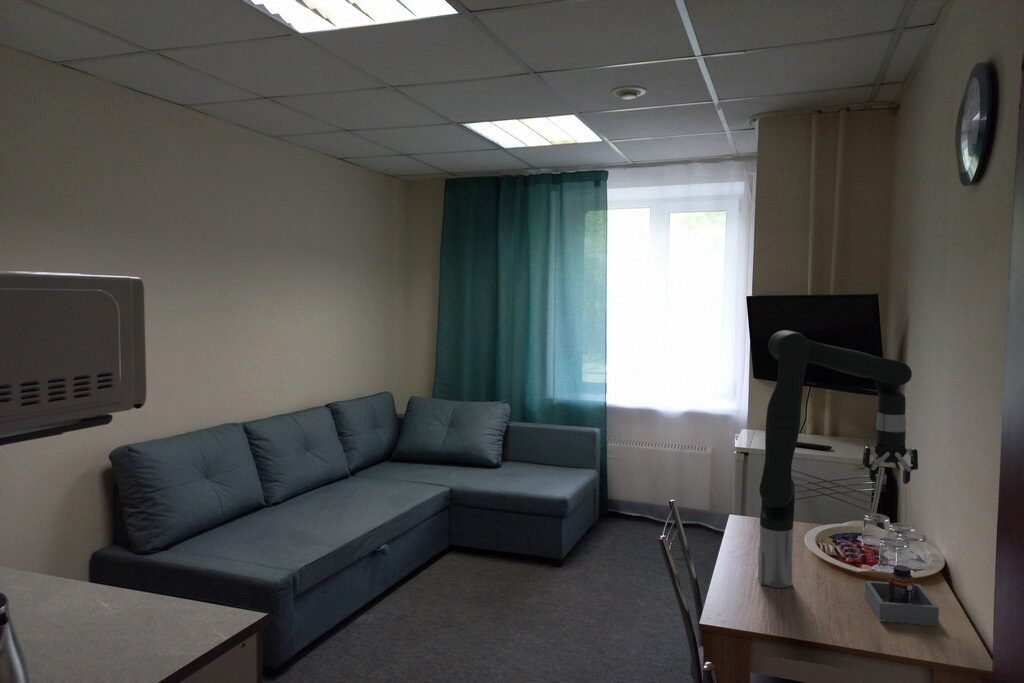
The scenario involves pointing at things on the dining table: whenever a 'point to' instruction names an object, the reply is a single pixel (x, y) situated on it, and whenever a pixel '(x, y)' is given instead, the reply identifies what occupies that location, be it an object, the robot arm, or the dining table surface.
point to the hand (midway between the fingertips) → (889, 482)
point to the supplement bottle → (901, 585)
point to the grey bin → (901, 605)
